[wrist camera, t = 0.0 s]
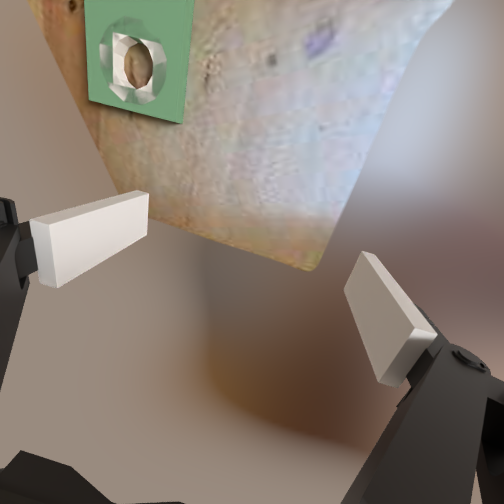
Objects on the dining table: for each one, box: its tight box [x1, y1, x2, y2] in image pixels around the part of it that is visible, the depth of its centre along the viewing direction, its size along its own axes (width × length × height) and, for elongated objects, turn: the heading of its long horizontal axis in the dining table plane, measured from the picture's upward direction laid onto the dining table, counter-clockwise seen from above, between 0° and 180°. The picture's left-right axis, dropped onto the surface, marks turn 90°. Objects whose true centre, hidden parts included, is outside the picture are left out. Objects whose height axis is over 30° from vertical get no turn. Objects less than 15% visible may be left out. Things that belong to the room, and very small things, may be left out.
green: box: [84, 0, 194, 124], centre depth 32 cm, size 26×14×2 cm, turn 167°
